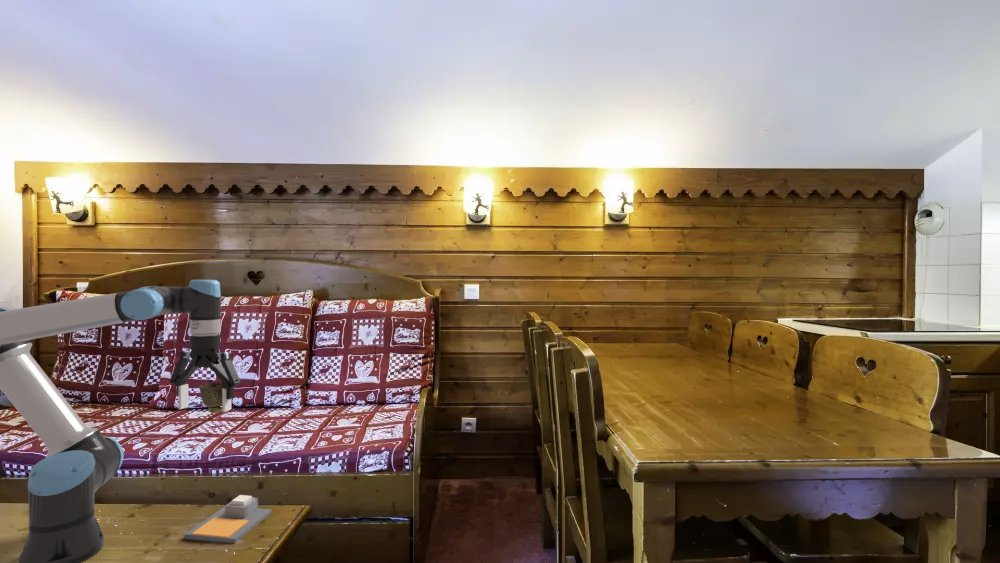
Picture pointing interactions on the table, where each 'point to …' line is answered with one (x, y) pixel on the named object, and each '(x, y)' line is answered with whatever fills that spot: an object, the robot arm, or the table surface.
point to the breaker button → (241, 500)
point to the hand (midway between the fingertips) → (205, 409)
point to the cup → (212, 396)
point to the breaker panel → (229, 523)
